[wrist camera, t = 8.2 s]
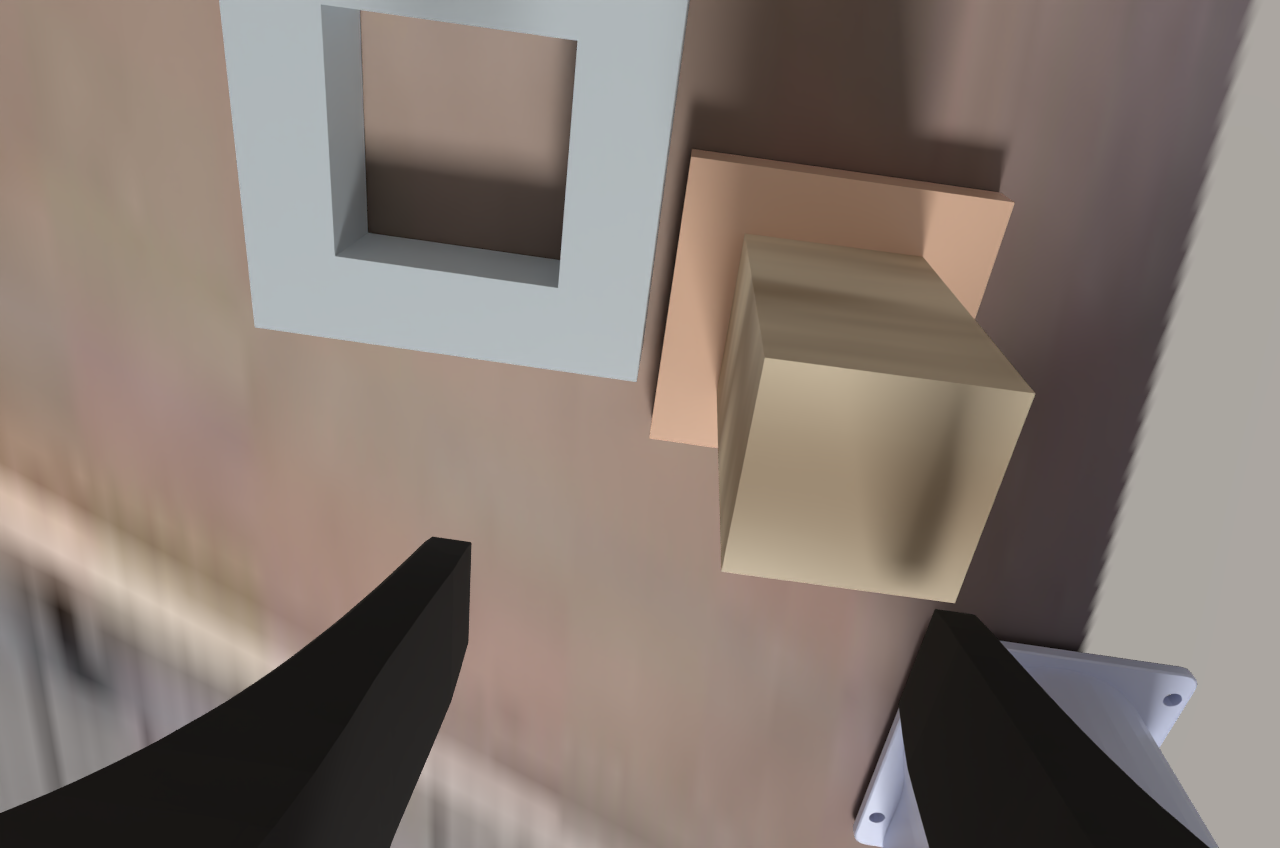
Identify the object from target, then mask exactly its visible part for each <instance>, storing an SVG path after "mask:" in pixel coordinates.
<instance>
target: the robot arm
mask: <svg viewBox="0 0 1280 848" xmlns="http://www.w3.org/2000/svg"><path fill="white" fill-rule="evenodd" d="M470 571H471V542H466V541H459V540H452V539H445V538H438V537H431V538H430V539H428V540H427V541H425V542H424V543H423V544H422V545H421V546H420V547H419V548H418V549H417V550H416V551H415V552H414V553H413V554H412V555H411V556H410V557H409V558H408V559H407V560H406V561H405V562H403V563H402V564H401V565H400V566H399V567H398V568H397V569H396V570H395V571H394V572H393V573H392V574H391V575H390V576H389V577H387V578H386V579H385V580H384V581H383V582H382V583H381V584H380V585H379V586H378V587H376V588H375V589H374V590H373V591H372V592H371V593H370V594H369V595H367V596H366V597H365V598H364V599H363V600H362V601H360V602H359V603H358V604H357V605H356V606H355V607H353V608H352V609H351V610H350V611H349V612H348V613H347V614H345V615H344V616H343V617H342V618H341V619H339V620H338V621H337V622H336V623H335V624H333V625H332V626H331V627H330V628H328V629H327V630H326V631H324V632H323V633H322V634H321V635H319V636H318V637H317V638H315V639H314V640H313V641H312V642H310V643H309V644H308V645H306V646H305V647H304V648H303V649H301V650H300V651H299V652H297V653H296V654H295V655H294V656H292V657H291V658H290V659H288V660H287V661H285V662H284V663H283V664H281V665H280V666H278V667H277V668H276V669H274V670H273V671H271V672H270V673H269V674H267V675H266V676H264V677H263V678H261V679H260V680H258V681H257V682H255V683H254V684H252V685H251V686H249V687H248V688H246V689H245V690H243V691H242V692H240V693H239V694H237V695H236V696H234V697H233V698H231V699H229V700H228V701H226V702H225V703H223V704H221V705H220V706H218V707H216V708H215V709H213V710H211V711H209V712H208V713H206V714H204V715H203V716H201V717H199V718H197V719H196V720H194V721H192V722H190V723H189V724H187V725H185V726H183V727H182V728H180V729H178V730H176V731H175V732H173V733H171V734H169V735H167V736H166V737H164V738H162V739H160V740H159V741H157V742H155V743H153V744H151V745H149V746H147V747H145V748H143V749H141V750H139V751H137V752H135V753H133V754H131V755H129V756H127V757H125V758H123V759H121V760H119V761H117V762H115V763H113V764H111V765H109V766H107V767H105V768H103V769H101V770H99V771H96V772H94V773H92V774H90V775H88V776H86V777H84V778H82V779H80V780H77V781H75V782H73V783H71V784H69V785H66V786H64V787H62V788H60V789H57V790H55V791H53V792H51V793H48V794H46V795H43V796H41V797H39V798H36V799H34V800H31V801H29V802H26V803H24V804H22V805H19V806H17V807H14V808H12V809H9V810H7V811H5V812H2V813H0V848H390V846H391V843H392V840H393V838H394V835H395V833H396V830H397V828H398V826H399V823H400V821H401V819H402V816H403V814H404V812H405V809H406V807H407V805H408V802H409V800H410V798H411V795H412V793H413V790H414V788H415V786H416V783H417V781H418V779H419V776H420V774H421V772H422V769H423V767H424V765H425V762H426V760H427V758H428V755H429V753H430V751H431V748H432V746H433V743H434V741H435V739H436V736H437V734H438V732H439V729H440V727H441V724H442V722H443V720H444V717H445V715H446V712H447V710H448V708H449V705H450V703H451V700H452V696H453V693H454V690H455V686H456V683H457V680H458V676H459V673H460V669H461V666H462V662H463V659H464V655H465V652H466V648H467V645H468V636H469V603H470ZM1196 687H1197V681H1196V679H1195V678H1194V676H1193V675H1192V673H1191V672H1190V671H1189V670H1188V669H1186V668H1183V667H1179V666H1171V665H1165V664H1158V663H1151V662H1144V661H1137V660H1130V659H1123V658H1116V657H1109V656H1103V655H1095V654H1089V653H1082V652H1075V651H1068V650H1061V649H1054V648H1047V647H1040V646H1033V645H1026V644H1019V643H1013V642H1006V641H999V640H998V639H997V638H996V637H995V636H994V635H993V633H992V632H991V631H990V630H989V629H988V628H987V627H986V626H985V625H984V624H983V623H982V622H981V621H980V620H979V619H978V618H977V617H976V616H975V615H972V614H965V613H958V612H951V611H944V610H937V609H935V611H934V613H933V616H932V619H931V621H930V624H929V626H928V629H927V631H926V634H925V637H924V639H923V642H922V644H921V647H920V650H919V652H918V655H917V657H916V660H915V663H914V665H913V668H912V670H911V673H910V676H909V678H908V681H907V683H906V686H905V688H904V691H903V694H902V696H901V699H900V701H899V704H898V705H899V709H898V711H897V714H896V716H895V719H894V722H893V724H892V727H891V729H890V732H889V734H888V737H887V740H886V742H885V745H884V747H883V750H882V753H881V755H880V758H879V760H878V763H877V765H876V768H875V771H874V773H873V776H872V778H871V781H870V784H869V786H868V789H867V791H866V794H865V796H864V799H863V802H862V804H861V807H860V809H859V812H858V814H857V817H856V820H855V822H854V825H853V831H854V837H855V838H856V840H857V841H859V842H860V843H862V844H866V845H872V846H879V847H883V848H1219V847H1218V845H1217V844H1216V842H1215V840H1214V839H1213V837H1212V835H1211V834H1210V832H1209V830H1208V829H1207V827H1206V825H1205V824H1204V822H1203V821H1202V819H1201V817H1200V815H1199V814H1198V812H1197V810H1196V809H1195V807H1194V805H1193V804H1192V802H1191V800H1190V799H1189V797H1188V795H1187V794H1186V792H1185V790H1184V789H1183V787H1182V785H1181V784H1180V782H1179V780H1178V779H1177V777H1176V775H1175V774H1174V772H1173V770H1172V769H1171V767H1170V765H1169V764H1168V762H1167V760H1166V759H1165V757H1164V755H1163V754H1162V752H1161V750H1160V749H1159V747H1160V746H1161V744H1162V743H1163V741H1164V739H1165V738H1166V736H1167V735H1168V733H1169V731H1170V730H1171V728H1172V726H1173V725H1174V723H1175V722H1176V720H1177V719H1178V717H1179V715H1180V713H1181V712H1182V711H1183V709H1184V707H1185V706H1186V704H1187V702H1188V701H1189V699H1190V698H1191V696H1192V694H1193V693H1194V691H1195V689H1196ZM1170 694H1171V695H1170ZM1167 695H1168V696H1167Z"/></svg>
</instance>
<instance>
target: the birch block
mask: <svg viewBox="0 0 1280 848" xmlns="http://www.w3.org/2000/svg"><path fill="white" fill-rule="evenodd" d="M1034 396H1035V392H1034V391H1033V390H1032V389H1031V388H1030V386H1029V385H1028V384H1027V383H1026V382H1025V380H1024V379H1023V378H1022V377H1021V375H1020V374H1019V373H1018V372H1017V371H1016V369H1015V368H1014V367H1013V366H1012V364H1011V363H1010V362H1009V361H1008V360H1007V358H1006V357H1005V356H1004V355H1003V354H1002V352H1001V351H1000V350H999V349H998V347H997V346H996V345H995V344H994V343H993V341H992V340H991V339H990V338H989V337H988V335H987V334H986V333H985V332H984V330H983V329H982V328H981V327H980V326H979V324H978V323H977V322H976V321H975V319H974V318H973V317H972V316H971V315H970V313H969V312H968V311H967V310H966V309H965V307H964V306H963V305H962V304H961V302H960V301H959V300H958V299H957V298H956V296H955V295H954V294H953V293H952V292H951V290H950V289H949V288H948V287H947V285H946V284H945V283H944V282H943V281H942V279H941V278H940V277H939V276H938V274H937V273H936V272H935V271H934V270H933V268H932V267H931V266H930V265H929V264H928V262H927V261H926V260H925V259H924V257H921V256H913V255H905V254H898V253H890V252H883V251H875V250H867V249H860V248H852V247H845V246H837V245H829V244H822V243H814V242H806V241H799V240H791V239H784V238H776V237H768V236H761V235H753V234H746V233H745V234H744V240H743V246H742V251H741V257H740V263H739V269H738V274H737V280H736V286H735V291H734V297H733V303H732V308H731V314H730V320H729V325H728V331H727V337H726V342H725V348H724V354H723V359H722V365H721V371H720V376H719V382H718V388H717V428H718V464H719V501H720V537H721V572H728V573H735V574H742V575H750V576H757V577H764V578H772V579H779V580H787V581H794V582H801V583H809V584H816V585H824V586H831V587H838V588H846V589H853V590H860V591H868V592H875V593H883V594H890V595H897V596H905V597H912V598H920V599H927V600H934V601H942V602H949V603H955V601H956V599H957V596H958V594H959V591H960V588H961V586H962V583H963V581H964V578H965V575H966V573H967V570H968V568H969V565H970V562H971V560H972V557H973V555H974V552H975V549H976V547H977V544H978V542H979V539H980V536H981V534H982V531H983V529H984V526H985V523H986V521H987V518H988V516H989V513H990V510H991V508H992V505H993V503H994V500H995V497H996V495H997V492H998V490H999V487H1000V484H1001V482H1002V479H1003V477H1004V474H1005V471H1006V469H1007V466H1008V464H1009V461H1010V458H1011V456H1012V453H1013V451H1014V448H1015V445H1016V443H1017V440H1018V438H1019V435H1020V432H1021V430H1022V427H1023V425H1024V422H1025V419H1026V417H1027V414H1028V412H1029V409H1030V406H1031V404H1032V401H1033V399H1034Z"/></svg>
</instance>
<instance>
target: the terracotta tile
mask: <svg viewBox="0 0 1280 848" xmlns="http://www.w3.org/2000/svg"><path fill="white" fill-rule="evenodd" d="M1014 203H1015V202H1013V201H1012V200H1010V199H1009V198H1007V197H1006V196H1004V195H1003V194H1001V193H1000V192H993V191H986V190H979V189H972V188H965V187H958V186H951V185H944V184H937V183H930V182H923V181H916V180H909V179H902V178H895V177H888V176H881V175H873V174H866V173H859V172H852V171H845V170H838V169H831V168H824V167H817V166H810V165H803V164H796V163H789V162H782V161H775V160H768V159H761V158H754V157H747V156H740V155H733V154H726V153H719V152H711V151H704V150H697V149H692V152H691V159H690V165H689V172H688V179H687V185H686V192H685V199H684V206H683V212H682V219H681V226H680V233H679V239H678V246H677V253H676V260H675V266H674V273H673V280H672V287H671V293H670V300H669V307H668V313H667V320H666V327H665V334H664V340H663V347H662V354H661V361H660V367H659V374H658V381H657V388H656V394H655V401H654V408H653V414H652V421H651V429H650V437H649V438H650V439H657V440H664V441H671V442H678V443H685V444H692V445H699V446H706V447H713V448H718V428H717V388H718V382H719V376H720V371H721V365H722V359H723V354H724V348H725V342H726V337H727V331H728V325H729V320H730V314H731V308H732V303H733V297H734V291H735V286H736V280H737V274H738V269H739V263H740V257H741V251H742V246H743V240H744V234H745V233H746V234H753V235H761V236H768V237H776V238H784V239H791V240H799V241H806V242H814V243H822V244H829V245H837V246H845V247H852V248H860V249H867V250H875V251H883V252H890V253H898V254H905V255H913V256H921V257H924V259H925V260H926V261H927V262H928V264H929V265H930V266H931V267H932V268H933V270H934V271H935V272H936V273H937V274H938V276H939V277H940V278H941V279H942V281H943V282H944V283H945V284H946V285H947V287H948V288H949V289H950V290H951V292H952V293H953V294H954V295H955V296H956V298H957V299H958V300H959V301H960V302H961V304H962V305H963V306H964V307H965V309H966V310H967V311H968V312H969V313H970V315H971V316H972V317H973V318H974V319H975V318H976V315H977V312H978V309H979V306H980V303H981V300H982V297H983V294H984V291H985V288H986V285H987V283H988V280H989V277H990V274H991V271H992V268H993V265H994V262H995V259H996V256H997V253H998V250H999V247H1000V244H1001V241H1002V239H1003V236H1004V233H1005V230H1006V227H1007V224H1008V221H1009V218H1010V215H1011V212H1012V209H1013V206H1014Z"/></svg>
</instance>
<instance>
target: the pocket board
mask: <svg viewBox="0 0 1280 848" xmlns="http://www.w3.org/2000/svg"><path fill="white" fill-rule="evenodd" d="M689 2H690V0H219V3H220V12H221V21H222V30H223V40H224V49H225V58H226V67H227V76H228V85H229V95H230V104H231V113H232V122H233V131H234V140H235V149H236V159H237V168H238V177H239V186H240V195H241V204H242V214H243V223H244V232H245V241H246V250H247V259H248V269H249V278H250V287H251V296H252V305H253V314H254V324H255V327H257V328H264V329H271V330H278V331H285V332H292V333H299V334H306V335H313V336H320V337H327V338H334V339H340V340H347V341H354V342H361V343H368V344H375V345H382V346H389V347H396V348H403V349H410V350H417V351H424V352H431V353H438V354H445V355H452V356H459V357H466V358H473V359H480V360H487V361H494V362H501V363H508V364H515V365H522V366H529V367H536V368H543V369H550V370H557V371H564V372H571V373H578V374H585V375H592V376H599V377H606V378H613V379H620V380H627V381H634V382H637V376H638V371H639V365H640V359H641V354H642V348H643V341H644V333H645V326H646V319H647V311H648V304H649V297H650V289H651V282H652V274H653V267H654V260H655V252H656V245H657V238H658V230H659V223H660V216H661V208H662V201H663V193H664V186H665V179H666V171H667V164H668V157H669V149H670V142H671V135H672V127H673V120H674V113H675V105H676V98H677V90H678V83H679V76H680V68H681V61H682V54H683V46H684V39H685V32H686V24H687V17H688V9H689ZM360 10H364V11H371V12H378V13H386V14H393V15H400V16H407V17H414V18H421V19H428V20H435V21H442V22H449V23H456V24H463V25H470V26H477V27H485V28H492V29H499V30H506V31H513V32H520V33H527V34H534V35H541V36H548V37H555V38H562V39H569V40H576V41H578V42H577V55H576V68H575V80H574V93H573V105H572V118H571V131H570V143H569V156H568V169H567V181H566V194H565V207H564V219H563V232H562V244H561V257H560V260H556V259H549V258H542V257H535V256H528V255H521V254H514V253H507V252H500V251H493V250H486V249H479V248H472V247H465V246H458V245H451V244H444V243H437V242H430V241H423V240H416V239H409V238H401V237H394V236H387V235H380V234H373V233H368V221H367V194H366V166H365V138H364V111H363V83H362V55H361V27H360Z"/></svg>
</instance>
